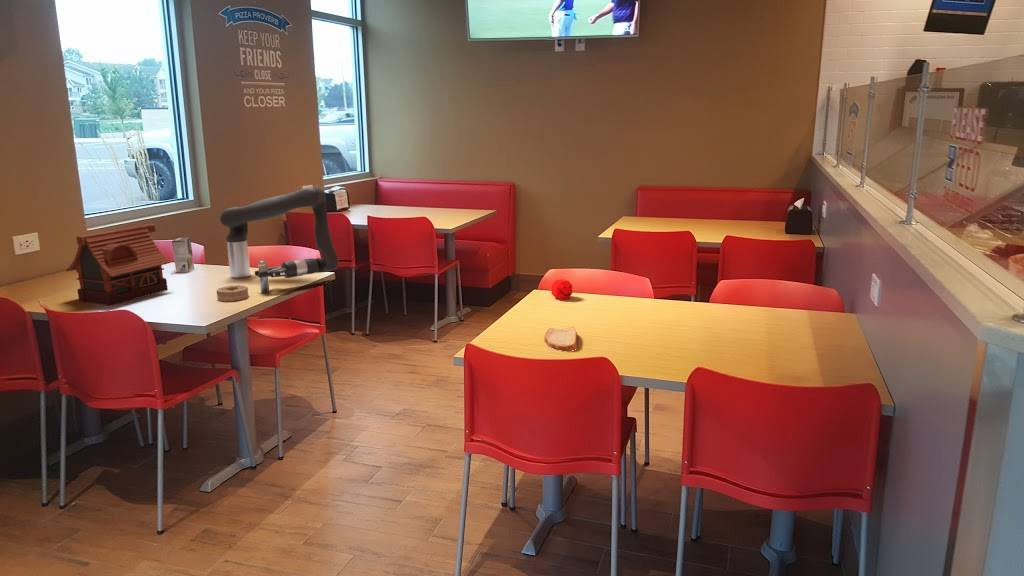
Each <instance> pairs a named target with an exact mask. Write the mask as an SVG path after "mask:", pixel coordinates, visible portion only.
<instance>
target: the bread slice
mask: <svg viewBox="0 0 1024 576" xmlns="http://www.w3.org/2000/svg"><path fill="white" fill-rule="evenodd" d="M578 339H579V337H578V331H577V330H576V328H574V326H571V327H566V328H561V329H556V328H553V327H551V328H548V329H547V330H546V332H545V334H544V339H543V340H544V343H545V342H546V343H545V345H546V344H547V345H546V346H547V347H549V348H550V347H551V349H552V348H553V349H552V350H555V349H556V351H558V350H562V351H561V352H564V351H572V350H575V349H576V348H577V349H578V346H577V345H579V344H578V341H579V340H578ZM577 349H576V350H577Z"/></svg>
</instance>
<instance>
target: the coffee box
mask: <svg viewBox="0 0 1024 576" xmlns="http://www.w3.org/2000/svg"><path fill="white" fill-rule="evenodd" d="M171 242H172V243H171V244H172V250H173V258H174V268H175V273H176V272H180V273H190V272H191V271H192V270H194V269H195V264H194V263H195V262H194V257H193V255H194V254H193V248H192V247H193V246H192V240H191V237H177V238H175V239H173V240H172V241H171ZM193 268H194V269H193ZM189 271H190V272H189Z"/></svg>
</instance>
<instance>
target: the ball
mask: <svg viewBox="0 0 1024 576" xmlns="http://www.w3.org/2000/svg"><path fill="white" fill-rule="evenodd" d="M550 291H551V295H552V297H554V298H555V299H557V300H559V301H560V300H561V301H562V300H567V299H569V298H570V297H571V296H572V294H573V284H572V283H571V282H570V281H569V280H567V279H564V278H561V279H560V278H559V279H556V280H554V282H553V283H552V284H551V289H550Z"/></svg>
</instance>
